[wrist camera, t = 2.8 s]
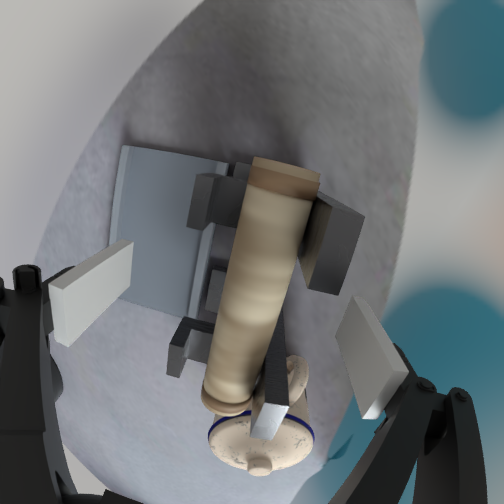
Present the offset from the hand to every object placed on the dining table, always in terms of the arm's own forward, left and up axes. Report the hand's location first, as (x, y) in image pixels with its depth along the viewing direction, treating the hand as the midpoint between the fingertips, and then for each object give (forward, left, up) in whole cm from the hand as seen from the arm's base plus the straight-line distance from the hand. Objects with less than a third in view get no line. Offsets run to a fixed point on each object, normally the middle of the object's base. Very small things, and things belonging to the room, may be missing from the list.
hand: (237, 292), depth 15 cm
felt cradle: (-8, -1, -9) cm, 12 cm away
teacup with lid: (+5, -13, -10) cm, 17 cm away
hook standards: (0, 0, -9) cm, 9 cm away
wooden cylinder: (0, 0, 0) cm, 0 cm away
